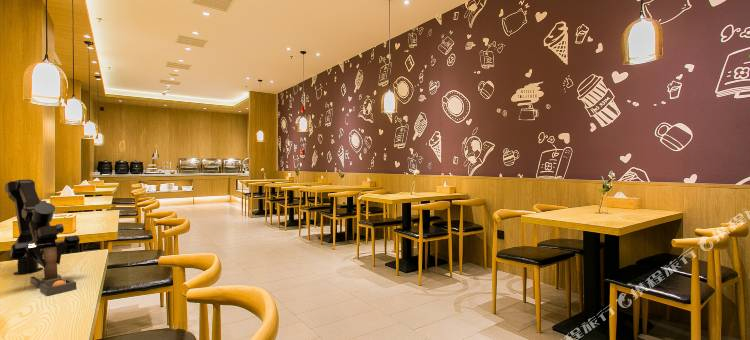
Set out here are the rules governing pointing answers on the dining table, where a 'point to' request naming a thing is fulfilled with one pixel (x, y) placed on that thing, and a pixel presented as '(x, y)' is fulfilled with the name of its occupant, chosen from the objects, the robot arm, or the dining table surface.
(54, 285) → the ball
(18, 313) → the dining table surface
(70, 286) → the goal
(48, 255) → the slider
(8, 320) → the dining table surface
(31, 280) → the track
